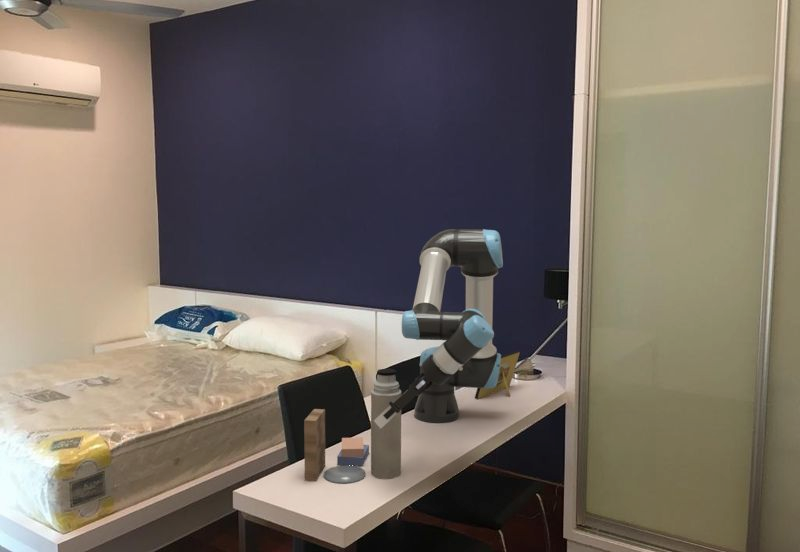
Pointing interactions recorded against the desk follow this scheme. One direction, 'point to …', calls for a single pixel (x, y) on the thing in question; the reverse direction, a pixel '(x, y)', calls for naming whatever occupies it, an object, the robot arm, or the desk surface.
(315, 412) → the bookend
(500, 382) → the picture frame
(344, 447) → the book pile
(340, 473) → the coaster
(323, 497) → the desk surface
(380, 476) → the thermos bottle
